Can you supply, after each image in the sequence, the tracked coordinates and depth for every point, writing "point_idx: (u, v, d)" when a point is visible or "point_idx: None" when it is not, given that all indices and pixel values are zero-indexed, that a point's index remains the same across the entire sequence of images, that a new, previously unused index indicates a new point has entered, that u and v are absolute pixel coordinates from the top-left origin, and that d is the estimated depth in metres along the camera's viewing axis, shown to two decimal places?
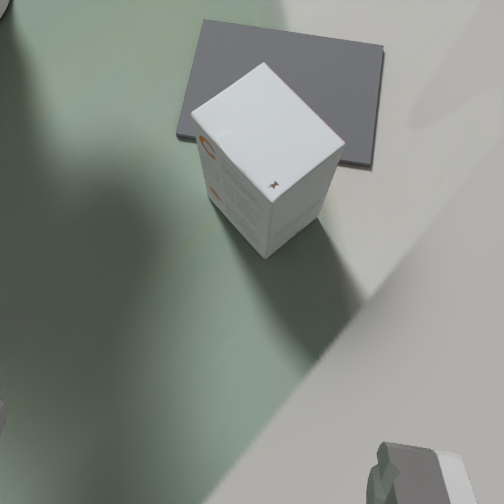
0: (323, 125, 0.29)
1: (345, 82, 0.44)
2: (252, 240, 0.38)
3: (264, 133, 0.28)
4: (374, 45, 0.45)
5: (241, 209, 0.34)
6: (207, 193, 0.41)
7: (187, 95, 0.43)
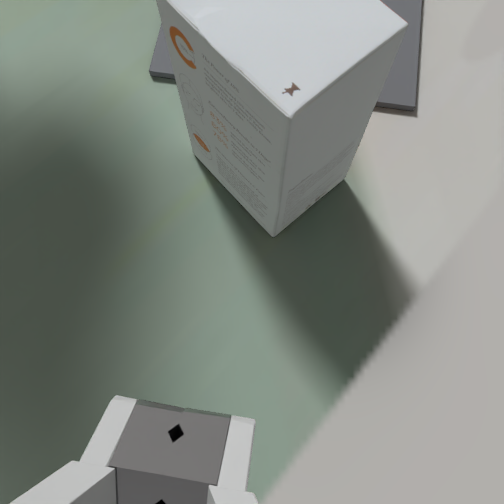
0: None
1: None
2: (255, 209, 0.27)
3: (273, 10, 0.17)
4: None
5: (238, 156, 0.23)
6: None
7: None
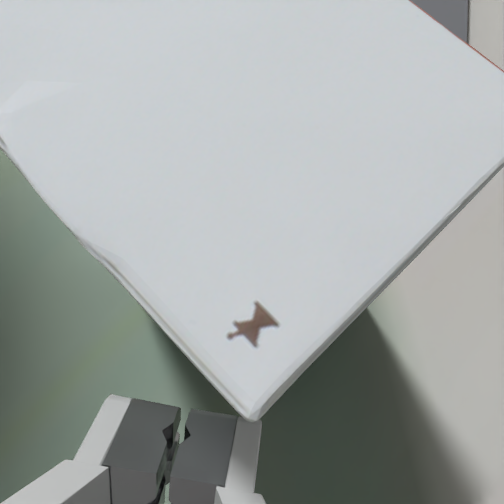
0: (449, 43, 0.07)
1: None
2: None
3: (205, 85, 0.07)
4: None
5: None
6: None
7: None
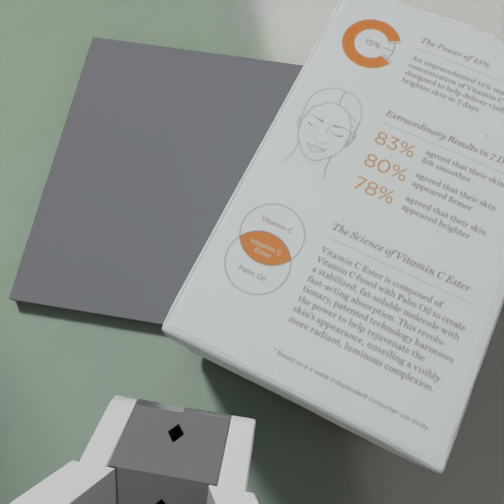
0: None
1: None
2: (410, 372, 0.12)
3: None
4: None
5: (423, 204, 0.13)
6: (173, 308, 0.12)
7: (44, 205, 0.20)
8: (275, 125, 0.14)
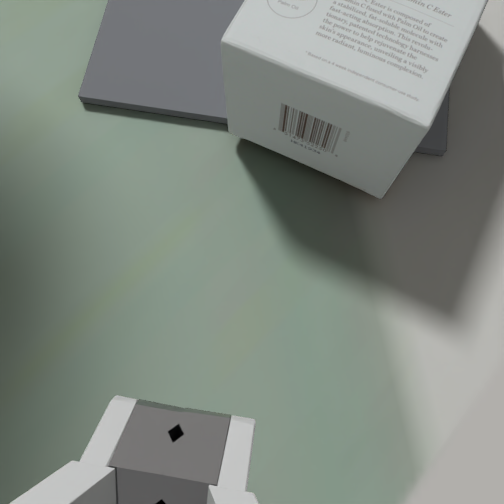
0: None
1: None
2: (406, 66, 0.16)
3: None
4: None
5: None
6: (229, 27, 0.16)
7: (103, 28, 0.24)
8: None
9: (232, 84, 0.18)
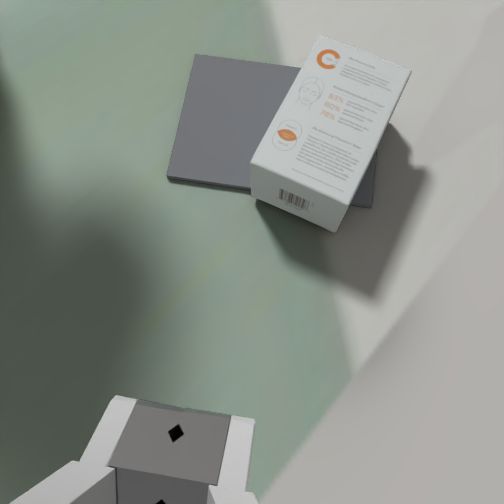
0: None
1: None
2: (338, 174, 0.33)
3: None
4: None
5: (345, 119, 0.35)
6: (254, 155, 0.34)
7: (178, 134, 0.41)
8: (290, 91, 0.35)
9: (255, 178, 0.36)
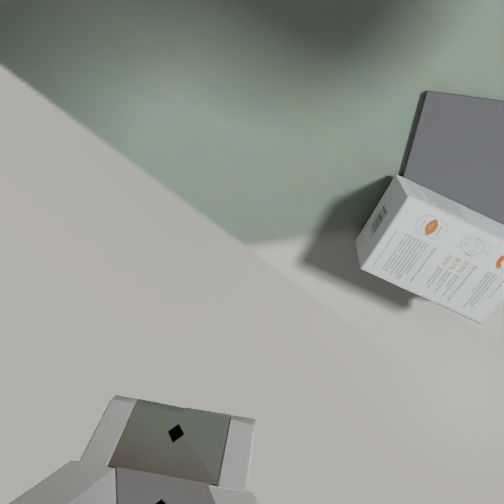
0: None
1: None
2: (387, 264, 0.41)
3: None
4: None
5: (439, 273, 0.41)
6: (414, 200, 0.38)
7: (474, 100, 0.40)
8: (478, 231, 0.39)
9: (400, 191, 0.40)
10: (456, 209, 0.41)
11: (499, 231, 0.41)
